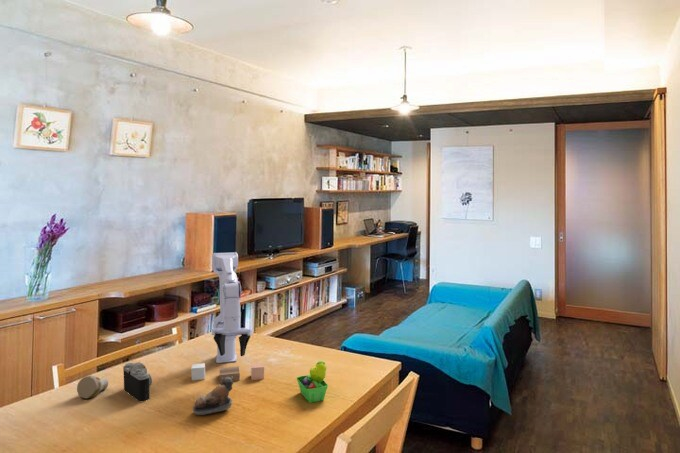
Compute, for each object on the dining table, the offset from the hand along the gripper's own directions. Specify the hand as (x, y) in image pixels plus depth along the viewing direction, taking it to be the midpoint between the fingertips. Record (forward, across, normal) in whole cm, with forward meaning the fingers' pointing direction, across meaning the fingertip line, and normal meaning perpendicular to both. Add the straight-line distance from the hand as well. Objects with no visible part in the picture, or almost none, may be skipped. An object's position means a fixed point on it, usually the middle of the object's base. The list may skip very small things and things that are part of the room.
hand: (232, 355), depth 157 cm
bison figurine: (+12, +3, -20) cm, 24 cm away
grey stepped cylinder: (+10, -43, -16) cm, 47 cm away
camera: (+10, -28, -13) cm, 32 cm away
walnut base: (+10, -4, +5) cm, 12 cm away
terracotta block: (+10, +6, +8) cm, 14 cm away
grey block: (+9, -15, +3) cm, 18 cm away
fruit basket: (+12, +30, -4) cm, 33 cm away
